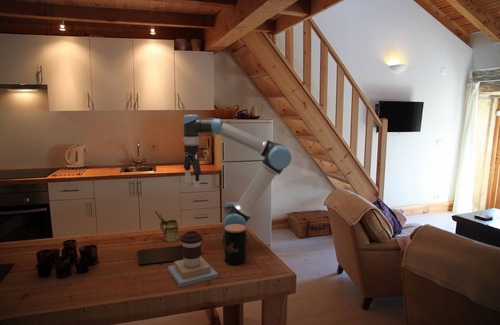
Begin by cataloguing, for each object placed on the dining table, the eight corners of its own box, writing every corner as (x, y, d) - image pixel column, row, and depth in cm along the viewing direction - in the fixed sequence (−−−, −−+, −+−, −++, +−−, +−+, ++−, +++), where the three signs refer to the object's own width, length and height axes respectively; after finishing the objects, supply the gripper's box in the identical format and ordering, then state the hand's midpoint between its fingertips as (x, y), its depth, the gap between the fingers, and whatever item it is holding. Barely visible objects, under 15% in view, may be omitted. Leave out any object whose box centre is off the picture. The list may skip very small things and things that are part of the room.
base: (203, 262, 175) (203, 253, 174) (217, 277, 159) (217, 267, 159) (168, 270, 166) (167, 260, 165) (179, 287, 151) (179, 276, 150)
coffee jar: (220, 261, 177) (220, 227, 174) (235, 254, 184) (235, 222, 182) (235, 267, 170) (235, 232, 167) (250, 260, 177) (250, 227, 174)
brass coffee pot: (156, 237, 207) (155, 208, 204) (179, 236, 210) (179, 207, 207) (156, 243, 199) (154, 213, 196) (180, 241, 202) (179, 211, 199)
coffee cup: (198, 269, 156) (197, 238, 154) (177, 267, 158) (176, 236, 156) (205, 260, 166) (205, 230, 163) (186, 258, 168) (185, 228, 165)
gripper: (177, 142, 190) (178, 180, 193) (192, 147, 168) (193, 190, 172) (190, 142, 193) (191, 179, 197) (207, 146, 172) (207, 188, 175)
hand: (192, 184), depth 184 cm, fingers open, 13 cm apart
